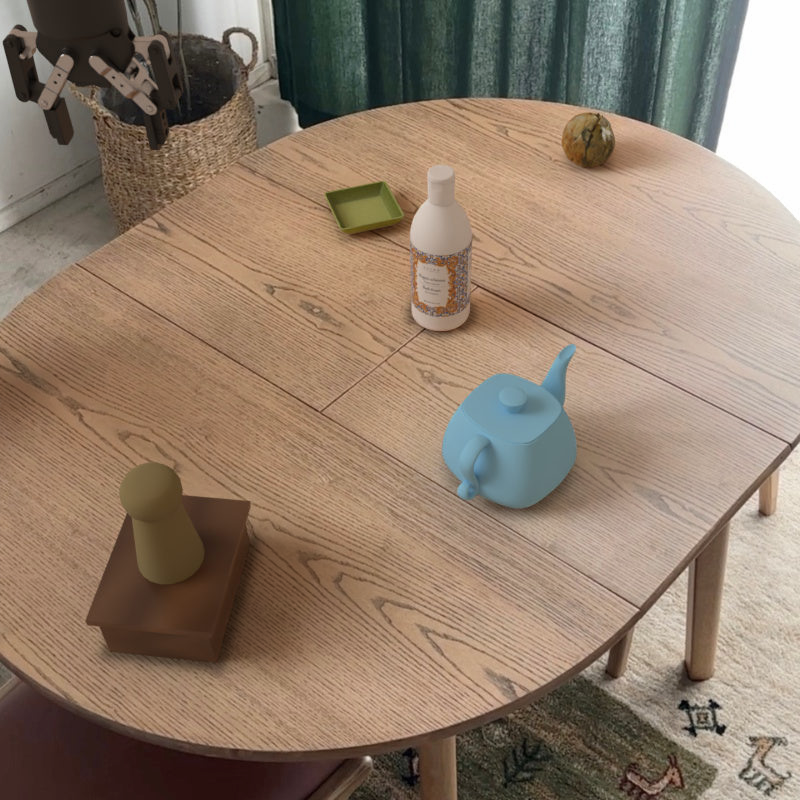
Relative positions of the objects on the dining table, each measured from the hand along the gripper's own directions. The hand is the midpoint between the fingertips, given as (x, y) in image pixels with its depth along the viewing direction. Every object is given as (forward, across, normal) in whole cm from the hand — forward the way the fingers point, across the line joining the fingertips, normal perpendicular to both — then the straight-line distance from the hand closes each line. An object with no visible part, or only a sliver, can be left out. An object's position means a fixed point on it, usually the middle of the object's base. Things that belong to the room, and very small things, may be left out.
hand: (112, 143), depth 95 cm
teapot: (+32, +38, -6) cm, 50 cm away
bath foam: (+32, +28, +16) cm, 46 cm away
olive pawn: (+26, +8, -26) cm, 38 cm away
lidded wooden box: (+32, +8, -26) cm, 42 cm away
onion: (+32, +45, +50) cm, 75 cm away
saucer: (+32, +16, +34) cm, 50 cm away
